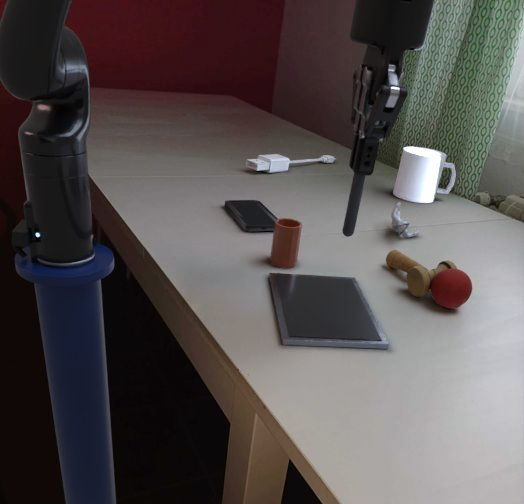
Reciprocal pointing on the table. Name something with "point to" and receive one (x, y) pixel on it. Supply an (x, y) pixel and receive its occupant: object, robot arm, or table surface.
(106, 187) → the table surface
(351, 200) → the stylus
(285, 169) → the charging cable
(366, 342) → the tablet
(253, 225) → the phone
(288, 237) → the pen cup
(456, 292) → the kendama
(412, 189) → the mug
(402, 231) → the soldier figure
